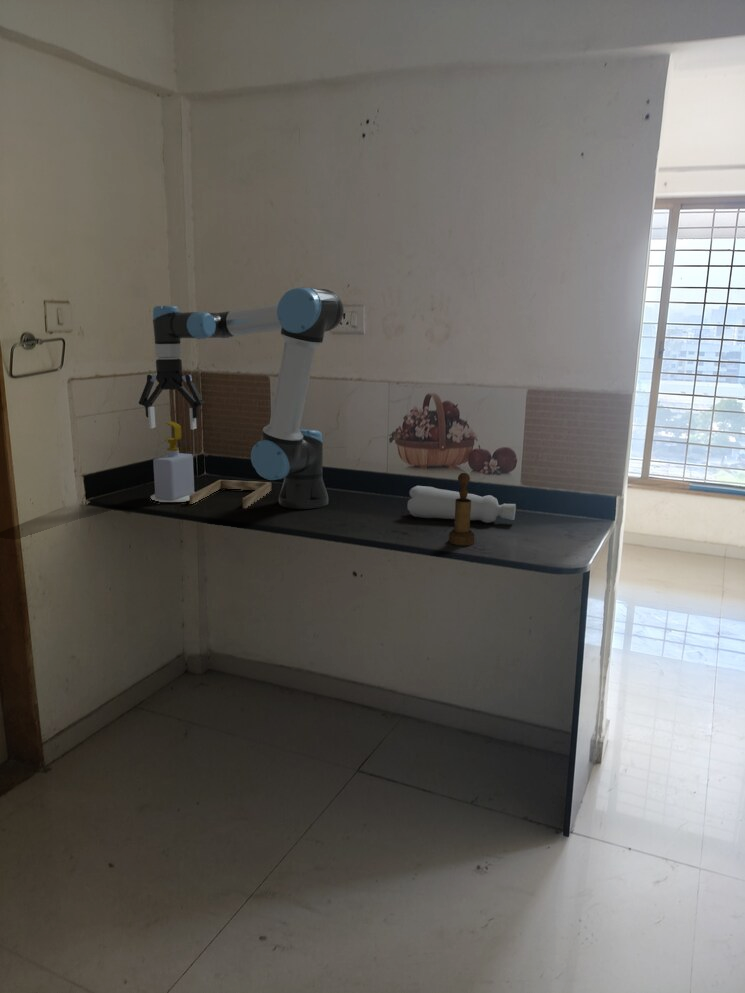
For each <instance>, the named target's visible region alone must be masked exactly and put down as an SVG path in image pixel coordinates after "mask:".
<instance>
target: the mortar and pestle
mask: <svg viewBox="0 0 745 993" xmlns="http://www.w3.org/2000/svg"><path fill="white" fill-rule="evenodd" d="M470 481H471V477H470V475H469V473H467V472H461V473H459V474H458V477H457V482H458V484H459V486H460V490H459V491H458V492H459V494H460V498H458V499H456V502H455V519H454V526H453V529H452V530H451V531H449V533H448V543H450V544H453V545H455V546H472V545H473V544H475V533H474V532H473V531H472V530H471V529H470V527H471V520H470V513H471V500H469V499H466V498H467V494H469V491H468V489H467V487H468V485H469V483H470Z"/></svg>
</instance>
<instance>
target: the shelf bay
mask: <svg viewBox="0 0 745 993" xmlns="http://www.w3.org/2000/svg"><path fill="white" fill-rule="evenodd" d="M221 488H227V489H241V490H240V491H243V490H255V491H251V493H249V494H247V495H246V496H244V497H242V509H247V508H249V507H251V506H252V505H253V504H255V503H256V502H258V501H259V500H261V499H262V498H264V497H266V496H267V495H268V494H270V493H271V492H270V491H273V490H272V489H273V488H272V482H271V481H270V482H269V481H268V482H266V481H252V480H251V481H249V480H248V481H247V480H233V479H232V480H229V479H218V480H216V481H215V482H213V483H211V484H209V485H207V486H205V487H203V488H201V489H199V490H197V491H194V492H195V493H193V494H191V495H189V499H190V502H189V505H190V504H193V503H195V502H198V501H199V500H201V499H203V498H205V497H207V496H209V495H210V494H212V493H214V492H216V491H218V490H219V489H221ZM221 490H222V489H221ZM218 492H219V491H218ZM269 492H270V493H269ZM216 493H217V492H216ZM267 493H268V494H267ZM214 494H215V493H214ZM266 494H267V495H266ZM212 495H213V494H212ZM263 496H264V497H263ZM209 497H210V496H209ZM207 498H208V497H207ZM260 498H261V499H260ZM205 499H206V498H205ZM203 500H204V499H203ZM257 500H258V501H257ZM201 501H202V500H201ZM254 502H255V503H254ZM198 503H199V502H198ZM251 504H252V505H251ZM248 506H249V507H248Z"/></svg>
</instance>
